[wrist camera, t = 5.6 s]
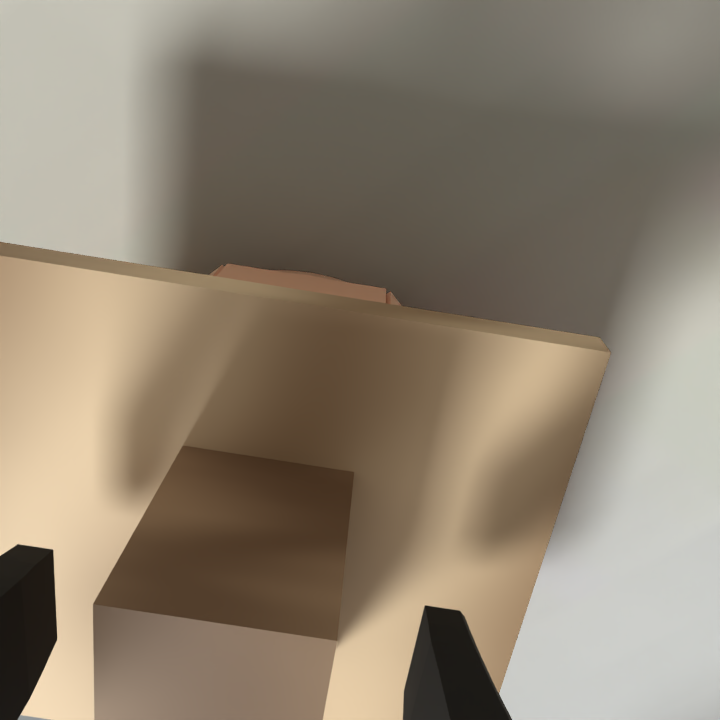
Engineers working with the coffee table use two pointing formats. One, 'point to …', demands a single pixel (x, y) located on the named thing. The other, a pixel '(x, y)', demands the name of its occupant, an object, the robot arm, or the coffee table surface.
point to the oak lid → (270, 484)
